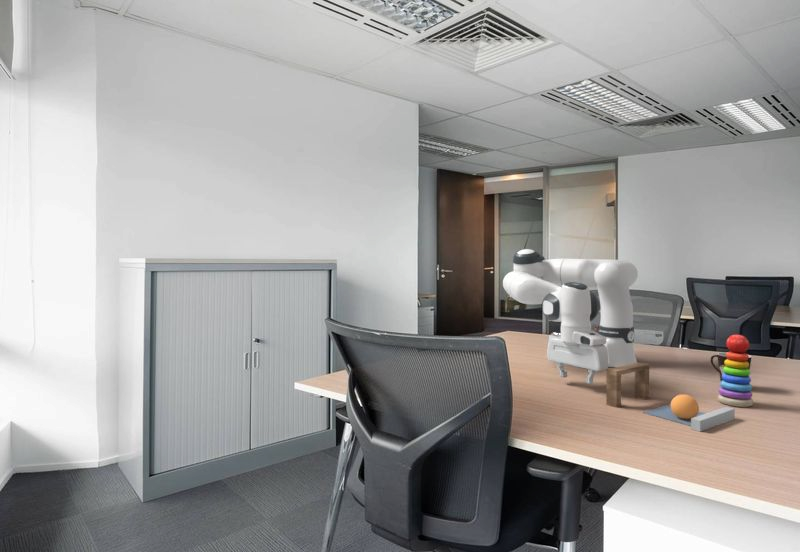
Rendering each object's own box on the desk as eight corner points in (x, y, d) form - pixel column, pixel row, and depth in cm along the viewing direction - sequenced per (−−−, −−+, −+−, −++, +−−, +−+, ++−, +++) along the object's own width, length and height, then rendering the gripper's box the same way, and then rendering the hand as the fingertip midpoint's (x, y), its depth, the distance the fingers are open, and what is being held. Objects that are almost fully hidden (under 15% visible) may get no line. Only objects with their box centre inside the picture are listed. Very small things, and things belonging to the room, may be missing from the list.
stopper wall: (691, 429, 112) (691, 418, 112) (725, 416, 120) (725, 406, 120) (700, 431, 110) (700, 420, 110) (734, 418, 118) (734, 408, 118)
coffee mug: (757, 392, 141) (757, 358, 141) (724, 390, 143) (724, 357, 143) (737, 382, 153) (738, 350, 152) (707, 381, 154) (708, 350, 154)
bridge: (606, 404, 131) (606, 369, 131) (639, 395, 139) (639, 362, 139) (616, 407, 129) (616, 371, 128) (649, 398, 137) (649, 364, 136)
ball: (689, 426, 115) (664, 416, 120) (702, 420, 118) (677, 411, 123) (691, 402, 114) (666, 393, 119) (705, 397, 117) (680, 389, 122)
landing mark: (642, 412, 124) (642, 411, 124) (669, 404, 130) (669, 404, 130) (691, 426, 114) (691, 425, 114) (717, 417, 120) (717, 416, 120)
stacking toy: (743, 409, 126) (744, 338, 125) (711, 401, 133) (712, 334, 132) (759, 405, 129) (760, 335, 129) (727, 397, 136) (728, 331, 136)
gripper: (542, 332, 156) (542, 374, 156) (597, 340, 138) (597, 388, 139) (555, 330, 159) (555, 372, 159) (611, 338, 141) (611, 385, 142)
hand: (575, 380), depth 149 cm, fingers open, 8 cm apart
